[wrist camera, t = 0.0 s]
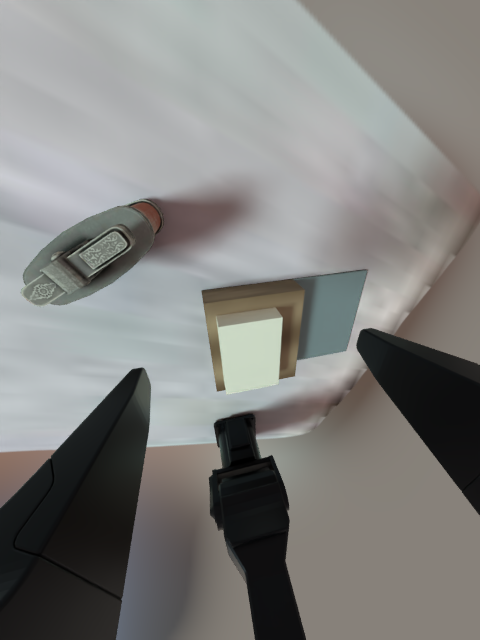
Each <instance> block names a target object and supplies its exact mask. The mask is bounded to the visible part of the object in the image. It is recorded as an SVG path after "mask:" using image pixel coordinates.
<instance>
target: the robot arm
mask: <svg viewBox="0 0 480 640" xmlns="http://www.w3.org/2000/svg"><path fill="white" fill-rule="evenodd" d="M356 346H357V350H358V352H359V353H360V355H361V356H362V358H363V360H364V361H365V363H366V364H367V366H368V368H369V369H370V371H371V372H372V374H373V376H374V377H375V379H376V380H377V381H378V383H379V384H380V385H381V387H382V388H383V389H384V391H385V392H386V393H387V395H388V396H389V397H390V398H391V400H392V401H393V402H394V404H395V405H396V406H397V408H398V409H399V410H400V411H401V413H402V414H403V416H404V417H405V418H406V419H407V421H408V422H409V423H410V425H411V426H412V427H413V429H414V430H415V431H416V433H418V435H419V436H420V438H421V439H422V440H423V442H424V443H425V444H426V446H427V447H428V448H429V450H430V451H431V452H432V453H433V455H434V456H435V457H436V458H437V460H438V461H439V463H440V464H441V465H442V466H443V468H444V469H445V470H446V472H447V473H448V474H449V476H450V477H451V478H452V479H453V481H454V482H455V484H456V485H457V486H458V487H459V489H460V490H461V491H462V493H463V494H464V496H465V497H466V498H467V499H468V501H469V502H470V503H471V505H472V506H473V507H474V509H475V510H476V511H477V513H478V514H479V515H480V365H478V364H477V363H474V362H470V361H468V360H465V359H462V358H459V357H456V356H453V355H450V354H447V353H444V352H441V351H438V350H435V349H432V348H429V347H426V346H423V345H420V344H417V343H414V342H411V341H408V340H405V339H402V338H400V337H396V336H394V335H391V334H388V333H385V332H382V331H379V330H376V329H373V328H368V329H363V330H361V331H360V334H359V337H358V341H357V344H356ZM150 398H151V384H150V381H149V378H148V376H147V373H146V370H145V369H144V368H136V369H132V370H131V371H130V372H129V373H128V374H127V375H126V376H125V377H124V378H123V379H122V380H121V381H120V383H119V384H118V385H117V386H116V387H115V388H114V389H113V390H112V391H111V392H110V393H109V394H108V395H107V396H106V398H105V399H104V400H103V401H102V402H101V403H100V404H99V405H98V406H97V407H96V408H95V409H94V410H93V412H92V413H91V414H90V415H89V416H88V417H87V418H86V419H85V420H84V421H83V422H82V423H81V424H80V425H79V427H78V428H77V429H76V430H75V431H74V432H73V433H72V434H71V435H70V436H69V437H68V438H67V439H66V441H65V442H64V443H63V444H62V445H61V446H60V447H59V448H58V449H57V450H56V451H55V453H54V454H53V455H52V456H51V458H50V459H48V460H47V461H46V462H45V463H44V464H43V465H42V466H41V467H40V468H39V469H38V470H37V472H36V473H35V474H34V475H33V476H32V477H31V478H30V479H29V480H28V481H27V482H26V483H25V484H24V485H23V486H22V487H21V488H20V489H19V490H18V491H17V493H15V494H14V496H12V497H11V499H9V500H8V501H7V502H6V503H5V504H4V505H3V506H2V507H1V508H0V640H116V635H117V628H118V622H119V616H120V610H121V603H122V600H121V598H122V596H123V590H124V583H125V577H126V570H127V565H128V559H129V552H130V546H131V540H132V533H133V526H134V521H135V515H136V508H137V502H138V496H139V489H140V483H141V477H142V471H143V464H144V458H145V451H146V445H147V439H148V433H149V423H150ZM214 429H215V434H216V440H217V445H218V447H220V452H221V460H222V469H218V470H216V469H215V470H212V472H213V475H212V476H211V477H209V485H210V515H211V516H212V517H213V518H214V519H215V522H216V523H217V526H218V531H219V530H224V537H225V542H226V546H227V550H228V554H229V556H230V558H231V560H232V561H233V563H234V565H235V566H236V568H237V569H238V571H239V573H240V574H241V576H242V577H243V579H244V581H245V582H246V584H247V589H248V595H249V602H250V608H251V615H252V622H253V628H254V635H255V640H306V637H305V633H304V630H303V626H302V622H301V618H300V615H299V611H298V607H297V604H296V600H295V596H294V592H293V589H292V585H291V582H290V577H289V574H288V570H287V566H286V562H285V559H286V550H287V540H288V531H289V516H288V513H287V511H288V510H289V502H288V497H287V493H286V489H285V486H284V483H283V480H282V478H281V476H280V473H279V471H278V468H277V466H276V463H275V461H274V458H273V456H272V455H271V456H269V457H266V458H262V459H261V455H260V452H259V448H258V444H257V441H256V434H255V416H254V415H253V414H251V415H247V416H242V417H237V418H233V419H228V420H224V421H219V422H215V423H214Z"/></svg>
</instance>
